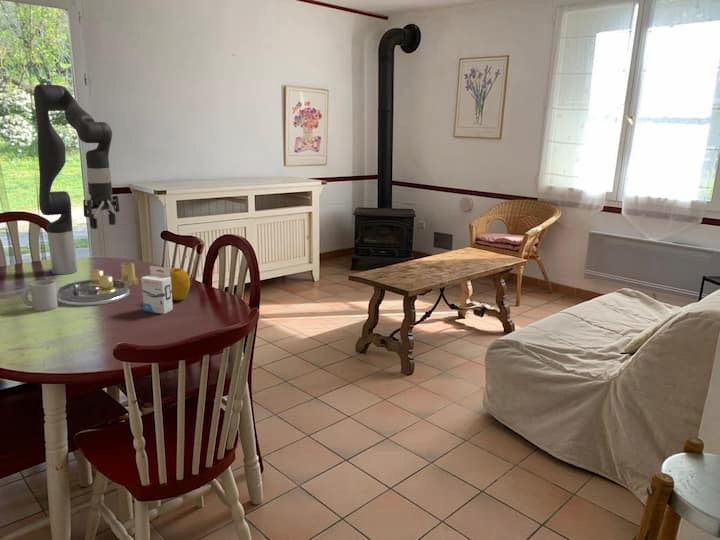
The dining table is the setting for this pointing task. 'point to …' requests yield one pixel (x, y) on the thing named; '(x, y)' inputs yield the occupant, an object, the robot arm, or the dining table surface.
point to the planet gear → (129, 274)
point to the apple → (179, 283)
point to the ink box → (157, 291)
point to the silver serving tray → (93, 291)
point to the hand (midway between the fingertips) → (103, 226)
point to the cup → (41, 295)
